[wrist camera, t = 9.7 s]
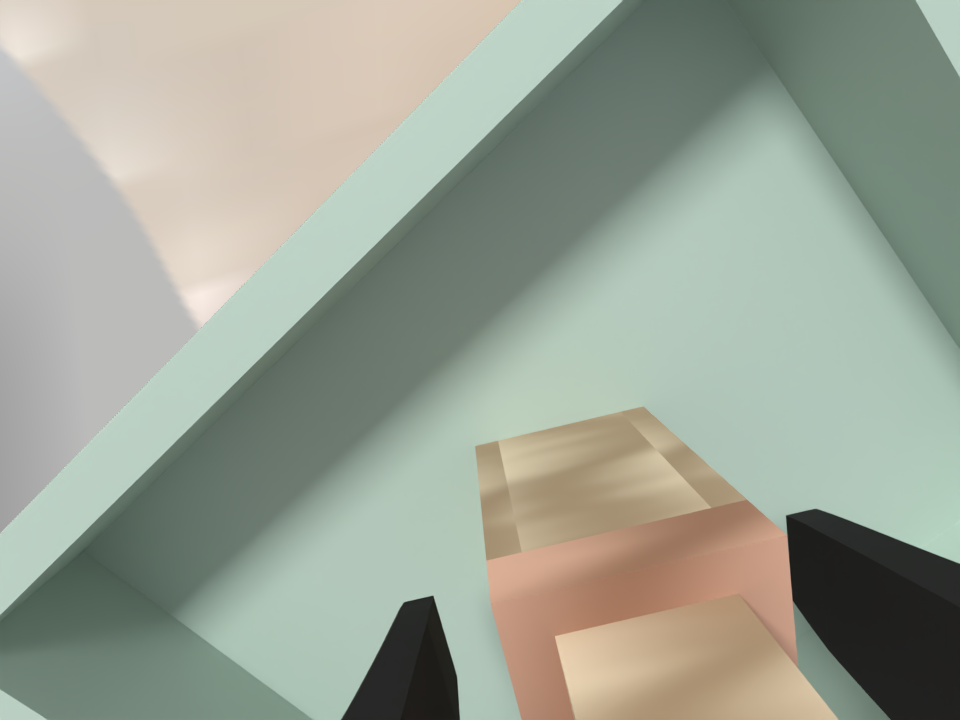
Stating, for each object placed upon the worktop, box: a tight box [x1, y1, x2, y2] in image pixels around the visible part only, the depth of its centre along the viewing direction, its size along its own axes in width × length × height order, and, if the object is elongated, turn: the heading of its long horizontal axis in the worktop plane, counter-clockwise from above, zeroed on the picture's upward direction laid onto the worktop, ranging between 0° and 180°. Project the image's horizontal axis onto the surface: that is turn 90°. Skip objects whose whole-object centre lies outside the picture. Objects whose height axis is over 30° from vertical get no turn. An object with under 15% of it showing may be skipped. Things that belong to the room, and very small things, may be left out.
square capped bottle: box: [475, 406, 839, 720], centre depth 9 cm, size 4×4×8 cm
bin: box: [0, 0, 960, 720], centre depth 12 cm, size 18×22×4 cm
